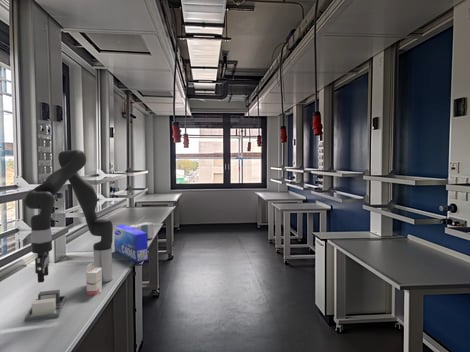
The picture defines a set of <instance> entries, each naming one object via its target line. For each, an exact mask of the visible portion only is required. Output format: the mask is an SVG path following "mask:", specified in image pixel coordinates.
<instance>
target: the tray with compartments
mask: <svg viewBox="0 0 470 352" xmlns="http://www.w3.org/2000/svg"><path fill="white" fill-rule="evenodd" d="M35 300H38V298H36V299H35ZM66 300H67V295H60V303H57V304H56V312H55V313H53V314H45V315H37V316H32V306H31V307H30V308H29V310H28V311H27V314H25V317H24V322H30V321H39V320H47V319H54V318H59V317H60V315H61V312H62V310H63V308H64V305H65V302H66Z"/></svg>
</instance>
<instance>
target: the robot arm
mask: <svg viewBox="0 0 470 352" xmlns="http://www.w3.org/2000/svg"><path fill="white" fill-rule="evenodd" d="M57 159H58V164H59V166H60V168H59V169H56V170H55V171H54V172H52V173H51V174H49V175H48V176H47V177H46V178H45V179H44V181H43V182H42V183H41V184H39V185H38V186H36V187H34V188H33V189H32V190H30V191H29V192H27V194H26V196H25V198H24V204H25V207H26V208H28V209H32V210H40V213H39V214H35V215H33V216H31V218H30V229H31V230H30V231H31V233H30V246H31V247H30V249H31V250H30V251H31V253H33V254H37V256H36V257H35V259H34V263H35V264H34V267H35V274H37V283H38V284H39V283H44V281H45V276H48V275H49V265H50V252H51V251H52V250H53V235H52V226H51V217H52V213H53V208H54V206H55V197H54V196H56V195H57V194H58V192H59V191H60V190H61V189H62V188H63V186H64V185H65V184H66V183H67V182H69V184H70V186H71V188H72V190H73V192H74V195H75V197H76V199H77V201H78V204H79V206H80V208H81V210H82V214H83V215H84V218H85V221H86V225H87V227H88V231H89V233H90V234H91V235H92V236H95V237H100V241H97V242H96V243H94V244H93V247H92V248H93V268H102V283H107V282H111V281H112V280H113V256H112V255H113V253H112V251H113V249H112V245H113V240H114V226H113V222H112V220H110V219H108V218H107V219H105V218H104V219H103V218H98V215H97V213H96V208H97V206H98V204H97V203H98V196H97V193H96V190H95V188H94V187H93V185H92V184H91V183H89V182H88V180H86V179H85V178H83V177H82V175H80V174H79V171H80V170H82V169H83V168H84V167H85V165H86V163H87V156H86V154H85V152H84V151H83V150H81V149H72V150H71V149H69V150H68V149H67V150H63V151H60V152H59V153H58V158H57Z"/></svg>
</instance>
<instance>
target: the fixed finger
mask: <svg viewBox="0 0 470 352" xmlns="http://www.w3.org/2000/svg"><path fill="white" fill-rule="evenodd" d="M60 296H61V289H55V290H47V291H39V292H38V294H37V299H38V300H43V299H52V298H55V299H56V304H57V303H60Z"/></svg>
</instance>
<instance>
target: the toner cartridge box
mask: <svg viewBox="0 0 470 352" xmlns="http://www.w3.org/2000/svg"><path fill="white" fill-rule="evenodd" d="M129 226H130V225H126V224H121V225H115V226H113V240H114V243H113V245H114V251H115V252H116V253H118V254H120V255H122V256H124V257H126V258H127V259H130V260H131V261H132V262H135V263H142V262H146V261H149V250H148V249H149V248H148V245H149V244H148V239H147V233H145V232H143V231H140V230H137V229H135V228H132V227H129Z"/></svg>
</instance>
